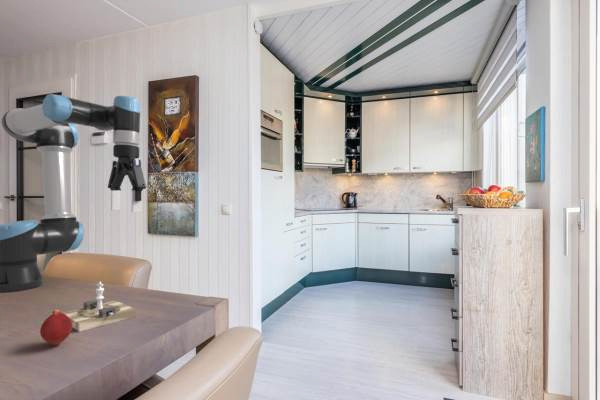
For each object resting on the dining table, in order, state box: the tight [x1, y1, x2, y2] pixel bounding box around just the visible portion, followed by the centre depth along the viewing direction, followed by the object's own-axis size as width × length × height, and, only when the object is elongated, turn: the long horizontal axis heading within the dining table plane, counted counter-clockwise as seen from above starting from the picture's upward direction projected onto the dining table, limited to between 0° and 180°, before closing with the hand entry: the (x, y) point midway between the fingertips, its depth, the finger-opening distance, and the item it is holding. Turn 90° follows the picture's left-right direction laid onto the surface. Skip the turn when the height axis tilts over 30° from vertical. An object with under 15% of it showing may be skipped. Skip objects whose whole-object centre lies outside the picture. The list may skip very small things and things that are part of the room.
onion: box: [39, 309, 73, 346], centre depth 76 cm, size 6×6×8 cm
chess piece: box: [93, 281, 105, 315], centre depth 92 cm, size 5×5×10 cm
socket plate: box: [62, 299, 137, 333], centre depth 92 cm, size 12×14×4 cm
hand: (125, 210), depth 110 cm, fingers open, 13 cm apart
